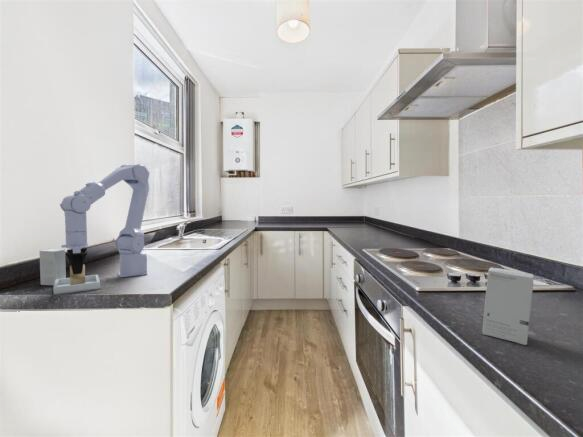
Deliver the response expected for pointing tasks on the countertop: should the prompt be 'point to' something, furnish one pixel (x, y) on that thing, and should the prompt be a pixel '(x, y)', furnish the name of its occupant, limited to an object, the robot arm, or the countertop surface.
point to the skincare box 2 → (508, 305)
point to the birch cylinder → (77, 277)
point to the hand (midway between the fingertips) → (77, 271)
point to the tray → (64, 285)
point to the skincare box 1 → (52, 266)
